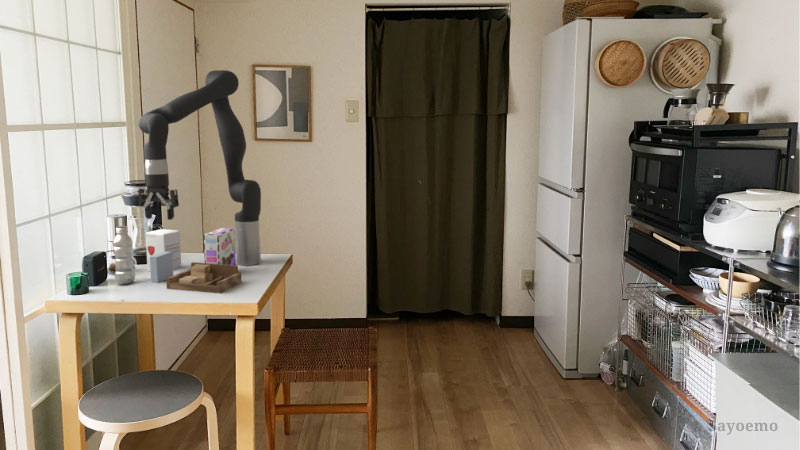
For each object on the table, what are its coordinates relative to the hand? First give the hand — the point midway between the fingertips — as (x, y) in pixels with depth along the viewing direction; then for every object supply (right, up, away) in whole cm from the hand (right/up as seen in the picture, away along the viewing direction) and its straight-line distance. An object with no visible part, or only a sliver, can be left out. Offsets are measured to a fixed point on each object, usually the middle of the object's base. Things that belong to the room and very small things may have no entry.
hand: (159, 218), depth 225 cm
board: (0, -22, +3) cm, 23 cm away
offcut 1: (+13, -23, -7) cm, 27 cm away
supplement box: (-6, -19, +21) cm, 29 cm away
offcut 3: (+15, -22, -2) cm, 27 cm away
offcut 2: (+15, -19, -2) cm, 24 cm away
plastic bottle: (-12, -23, +1) cm, 26 cm away
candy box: (+17, -21, +14) cm, 31 cm away
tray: (+17, -24, -5) cm, 30 cm away
